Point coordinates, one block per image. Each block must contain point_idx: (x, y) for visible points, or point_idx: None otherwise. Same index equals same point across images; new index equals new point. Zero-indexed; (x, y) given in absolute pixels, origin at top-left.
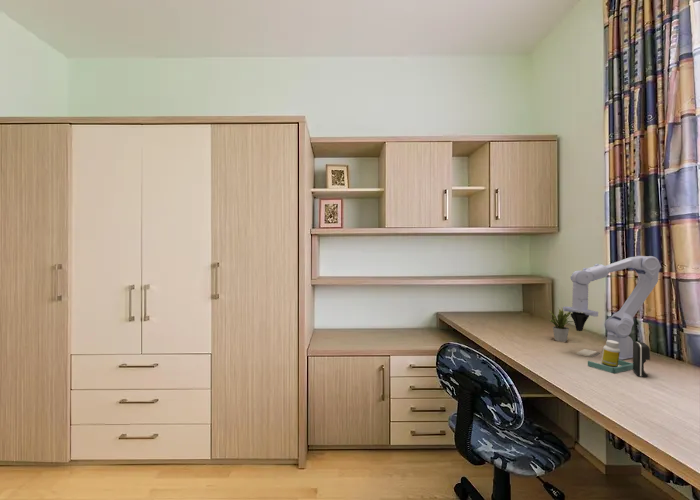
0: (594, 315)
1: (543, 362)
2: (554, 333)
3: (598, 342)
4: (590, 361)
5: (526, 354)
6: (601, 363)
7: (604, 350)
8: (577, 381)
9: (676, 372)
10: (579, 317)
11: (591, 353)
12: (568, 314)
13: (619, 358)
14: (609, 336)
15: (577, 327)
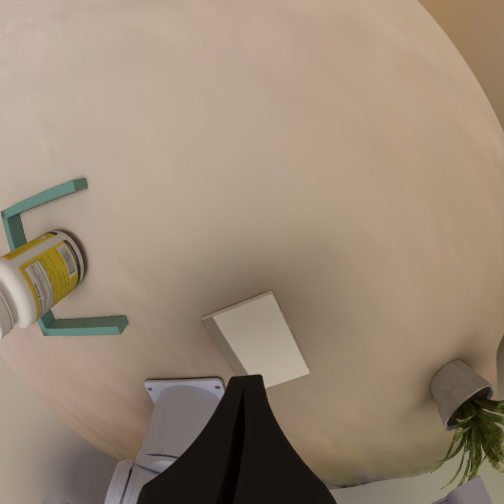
0: (45, 501)
1: (188, 6)
2: (474, 373)
3: (360, 454)
4: (67, 190)
5: (342, 23)
6: (62, 235)
7: (10, 256)
8: (7, 36)
9: (43, 384)
10: (167, 485)
11: (237, 349)
12: (471, 471)
13: (149, 382)
14: (178, 453)
15: (241, 395)
